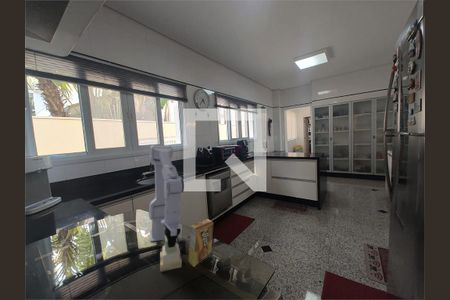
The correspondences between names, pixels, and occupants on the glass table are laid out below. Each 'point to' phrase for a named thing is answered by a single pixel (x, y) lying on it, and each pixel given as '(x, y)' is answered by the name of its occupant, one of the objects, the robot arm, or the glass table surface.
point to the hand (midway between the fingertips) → (171, 243)
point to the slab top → (170, 254)
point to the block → (167, 245)
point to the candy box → (200, 241)
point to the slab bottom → (170, 264)
